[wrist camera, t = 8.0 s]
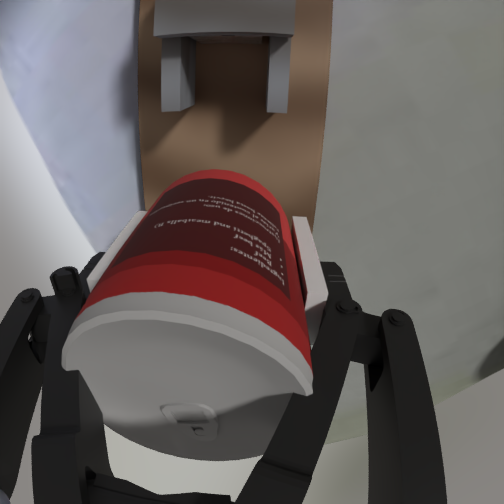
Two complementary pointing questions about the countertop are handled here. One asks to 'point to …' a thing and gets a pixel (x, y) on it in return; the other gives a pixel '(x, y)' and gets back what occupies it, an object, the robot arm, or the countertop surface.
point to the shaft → (228, 39)
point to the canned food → (198, 323)
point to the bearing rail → (235, 94)
